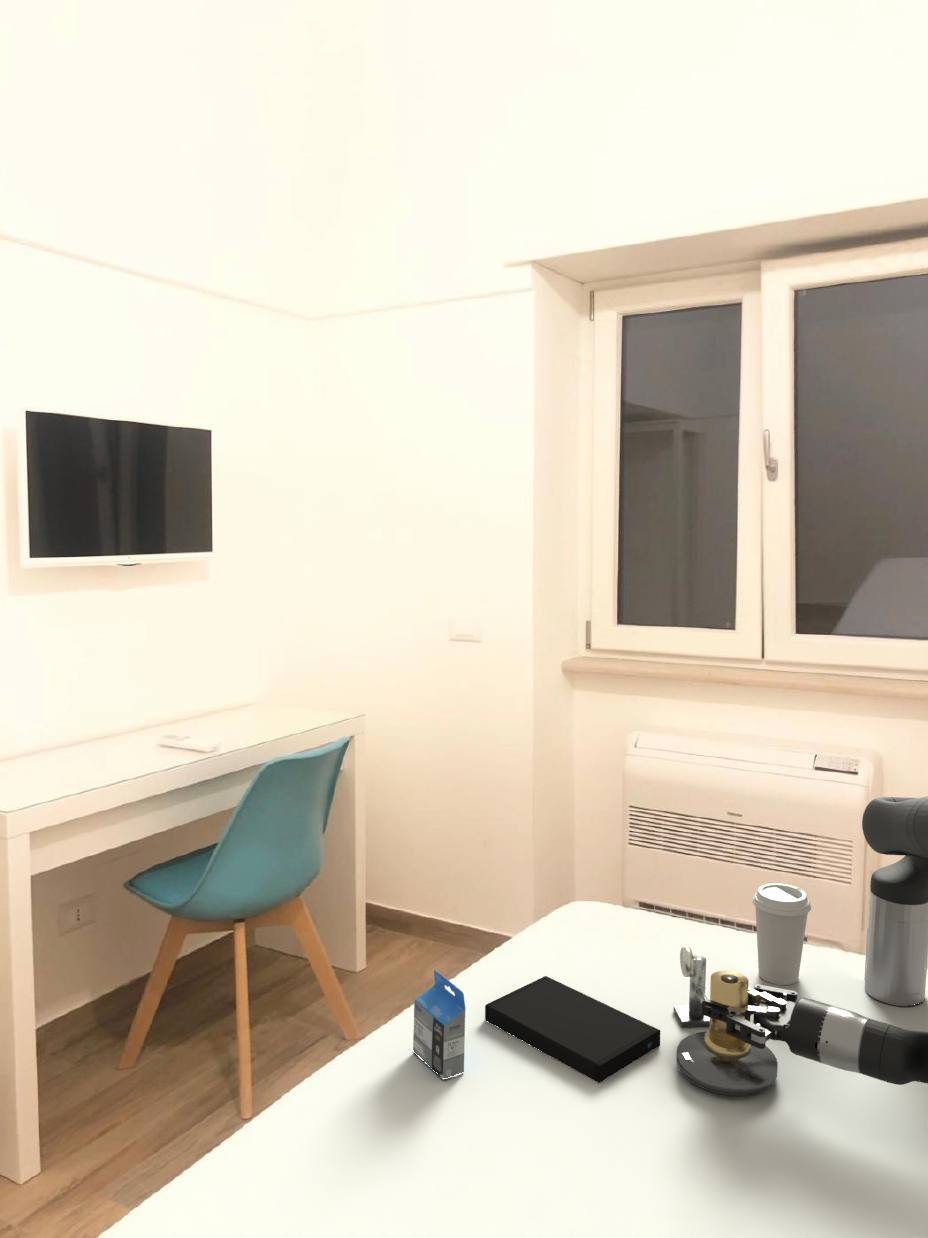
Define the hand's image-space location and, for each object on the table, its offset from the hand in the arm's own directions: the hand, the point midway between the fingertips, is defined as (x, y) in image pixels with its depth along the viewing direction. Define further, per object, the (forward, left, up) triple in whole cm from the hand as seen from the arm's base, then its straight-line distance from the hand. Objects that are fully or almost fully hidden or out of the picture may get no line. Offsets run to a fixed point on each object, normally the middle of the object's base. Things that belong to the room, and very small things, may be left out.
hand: (711, 998), depth 148 cm
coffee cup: (-26, +20, -11) cm, 35 cm away
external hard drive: (-10, -19, -11) cm, 24 cm away
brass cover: (+2, +2, -6) cm, 7 cm away
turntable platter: (+2, +2, -11) cm, 11 cm away
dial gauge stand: (-10, +2, -11) cm, 15 cm away
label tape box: (-3, -39, -11) cm, 41 cm away
